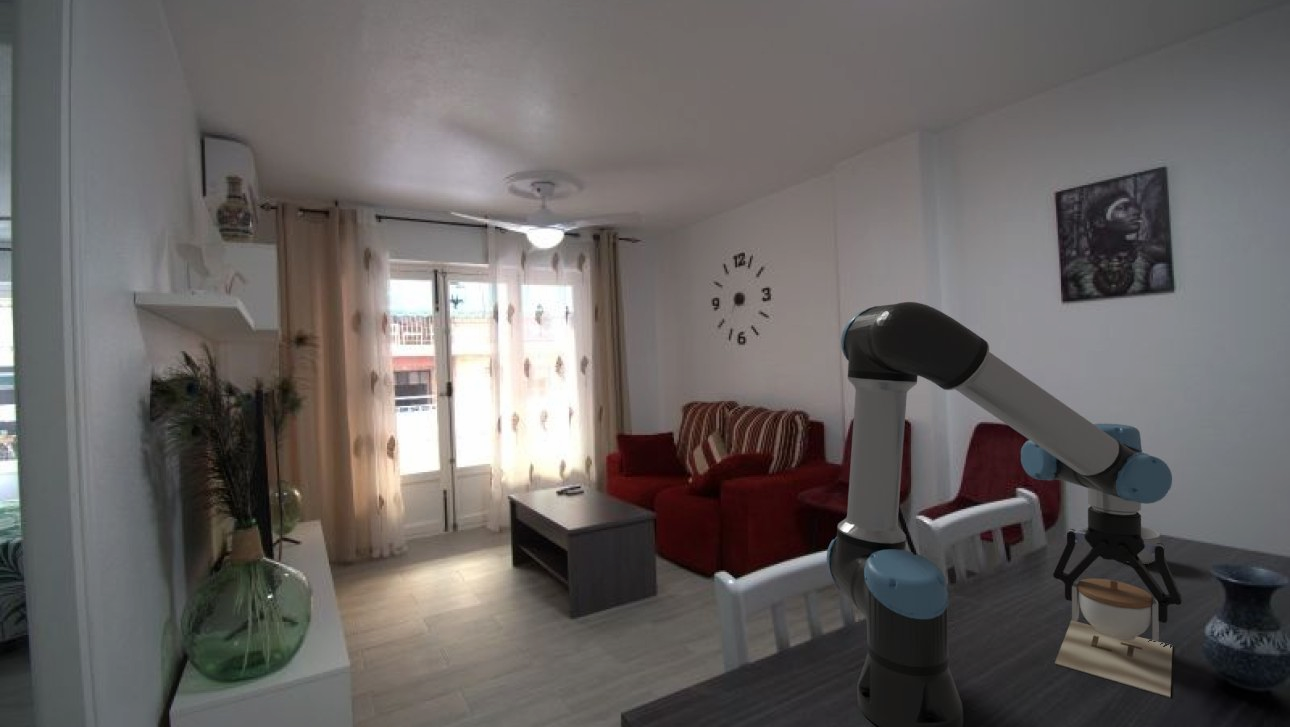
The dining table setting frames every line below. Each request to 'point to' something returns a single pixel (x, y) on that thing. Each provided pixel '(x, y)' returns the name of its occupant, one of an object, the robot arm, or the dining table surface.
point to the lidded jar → (1115, 607)
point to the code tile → (1117, 658)
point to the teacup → (1148, 537)
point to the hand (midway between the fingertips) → (1114, 627)
